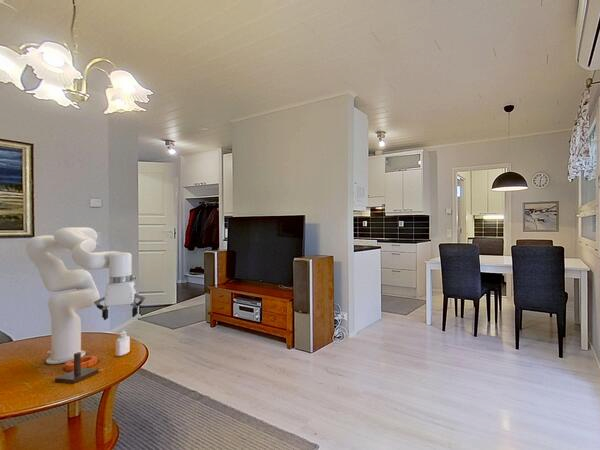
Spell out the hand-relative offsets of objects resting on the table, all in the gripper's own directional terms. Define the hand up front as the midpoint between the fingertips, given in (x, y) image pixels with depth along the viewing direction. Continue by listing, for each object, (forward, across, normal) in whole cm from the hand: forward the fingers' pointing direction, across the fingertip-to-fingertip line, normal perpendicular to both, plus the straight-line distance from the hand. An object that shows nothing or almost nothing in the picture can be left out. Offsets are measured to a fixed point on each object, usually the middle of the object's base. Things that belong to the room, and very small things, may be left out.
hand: (120, 317), depth 138 cm
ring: (+22, +15, -8) cm, 28 cm away
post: (+22, +12, +5) cm, 26 cm away
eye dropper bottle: (+22, +2, -15) cm, 27 cm away
